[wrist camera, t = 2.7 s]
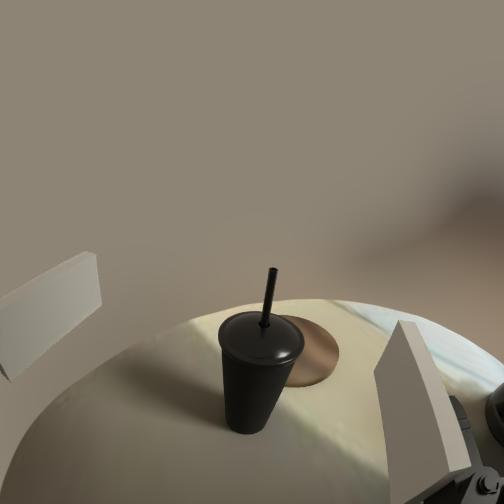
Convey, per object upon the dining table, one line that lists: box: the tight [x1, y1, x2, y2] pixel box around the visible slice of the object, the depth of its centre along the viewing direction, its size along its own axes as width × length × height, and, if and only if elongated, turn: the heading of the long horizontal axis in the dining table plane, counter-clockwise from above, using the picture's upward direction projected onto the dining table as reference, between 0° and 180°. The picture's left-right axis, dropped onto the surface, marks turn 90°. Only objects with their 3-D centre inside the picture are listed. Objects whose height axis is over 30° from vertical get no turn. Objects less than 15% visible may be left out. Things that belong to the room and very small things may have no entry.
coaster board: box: [279, 315, 339, 387], centre depth 41 cm, size 16×16×2 cm
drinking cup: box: [218, 268, 305, 434], centre depth 24 cm, size 8×8×20 cm
